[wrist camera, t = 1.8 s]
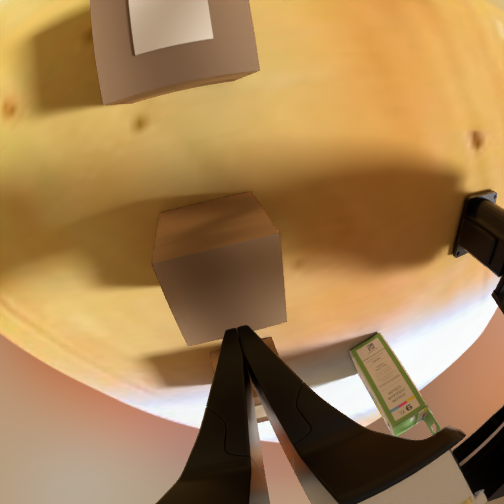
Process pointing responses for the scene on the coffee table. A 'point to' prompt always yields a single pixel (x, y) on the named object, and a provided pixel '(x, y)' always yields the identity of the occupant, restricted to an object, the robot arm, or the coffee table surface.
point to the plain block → (220, 267)
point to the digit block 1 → (170, 46)
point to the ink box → (390, 386)
